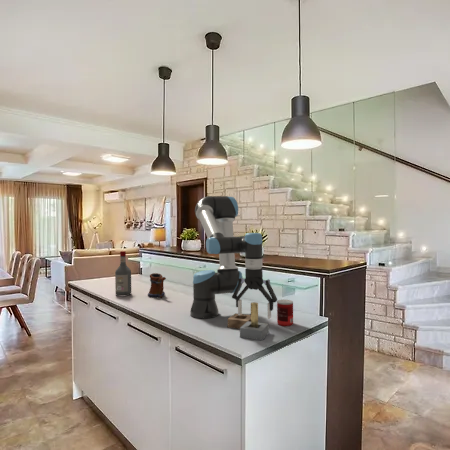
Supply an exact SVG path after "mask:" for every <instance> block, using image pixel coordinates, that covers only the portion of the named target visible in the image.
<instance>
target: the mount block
mask: <svg viewBox="0 0 450 450" xmlns="http://www.w3.org/2000/svg"><path fill="white" fill-rule="evenodd" d="M247 321H249V322H251V314H245V313H242V314H241V315H238V312H236V313H234V314H233V315H231V316H229V317H228V318H227V328H231V329H237V330H238V329H239V330H240V327H242V326H243V325H244V324H245V323H246V322H247Z"/></svg>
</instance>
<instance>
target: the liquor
mask: <svg viewBox="0 0 450 450" xmlns="http://www.w3.org/2000/svg"><path fill="white" fill-rule="evenodd" d="M126 256H127V254H126V251H123V250H122V251H120V252H119V259H120V262H119V263H120V264H119V266H118V267H117V269H115V271H114V275H115V278H114V279H115V281H114V282H115V283H114V284H115V295H116V296H117V295H127V296H129V295H128V294H130V293H131V294H132V270H131V269H130V267H129V266H127V263H126ZM131 294H130V295H131Z"/></svg>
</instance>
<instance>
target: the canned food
mask: <svg viewBox="0 0 450 450" xmlns="http://www.w3.org/2000/svg"><path fill="white" fill-rule="evenodd" d="M276 311H277V312H276V319H277V320H276V321H277V322H276V323H277V325H278V326H280V327H291V326H293V325H294V301H293V300H290V299H277V301H276Z"/></svg>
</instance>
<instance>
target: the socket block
mask: <svg viewBox="0 0 450 450" xmlns="http://www.w3.org/2000/svg"><path fill="white" fill-rule="evenodd" d="M269 325H270V324H269V323H266V322H265V323H264V322H258V328H252V327H251V322H249V321H247V322H246V323H245V324H244V325H243V326H242V327H240V329H239V338H245V339H250V340H257V341H263V340H264V339H265V338H266V337H267V336H268V334H269V333H270V331H269V329H270V327H269Z"/></svg>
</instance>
